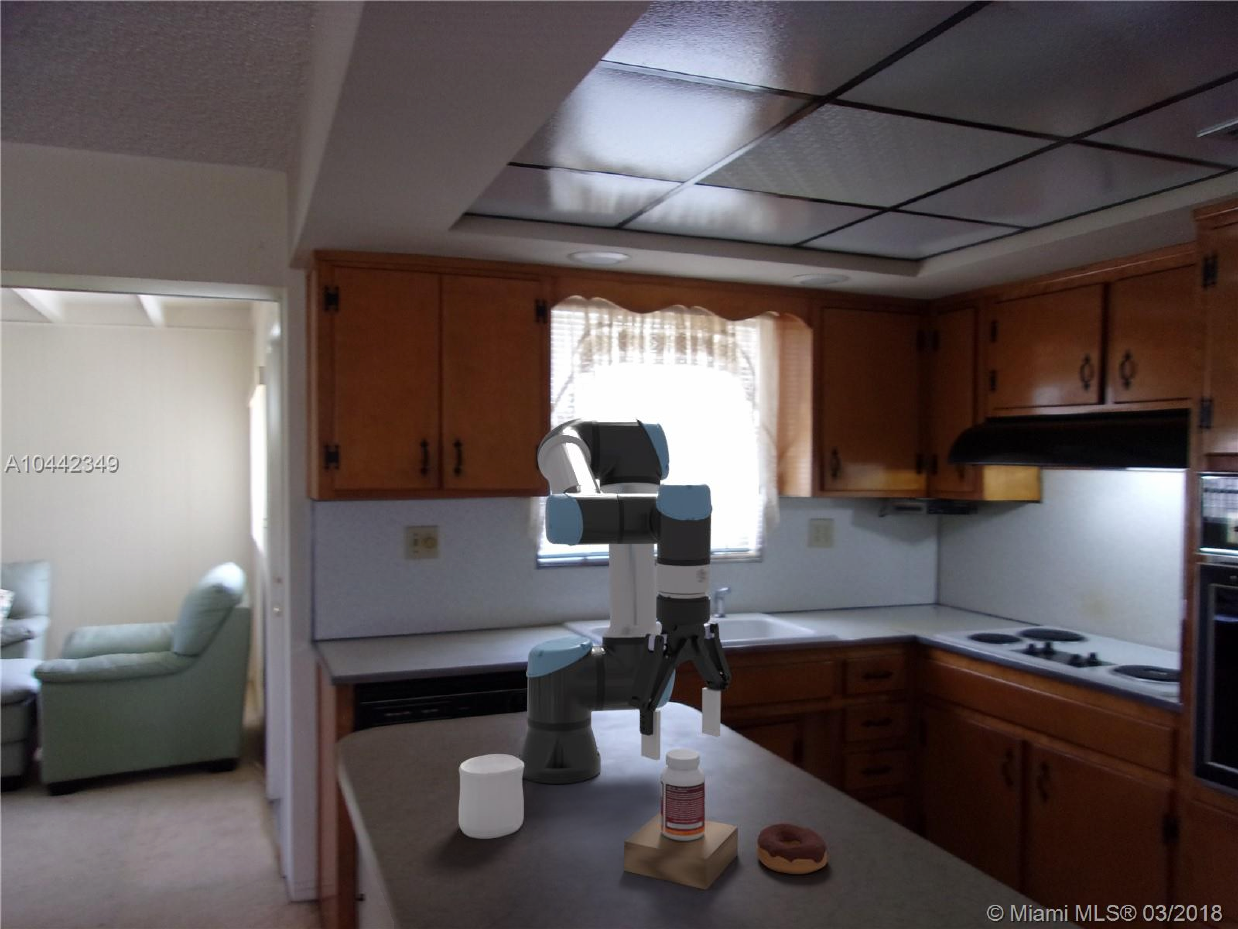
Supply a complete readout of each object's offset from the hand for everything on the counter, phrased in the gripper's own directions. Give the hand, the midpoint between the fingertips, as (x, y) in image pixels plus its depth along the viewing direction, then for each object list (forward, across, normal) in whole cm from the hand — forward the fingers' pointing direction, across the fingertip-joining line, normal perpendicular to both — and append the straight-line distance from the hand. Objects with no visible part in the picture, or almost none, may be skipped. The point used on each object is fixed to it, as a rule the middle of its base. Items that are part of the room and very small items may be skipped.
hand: (682, 745), depth 126 cm
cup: (+17, -10, +28) cm, 35 cm away
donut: (+16, +10, -11) cm, 23 cm away
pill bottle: (+12, 0, 0) cm, 12 cm away
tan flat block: (+16, 0, 0) cm, 16 cm away
